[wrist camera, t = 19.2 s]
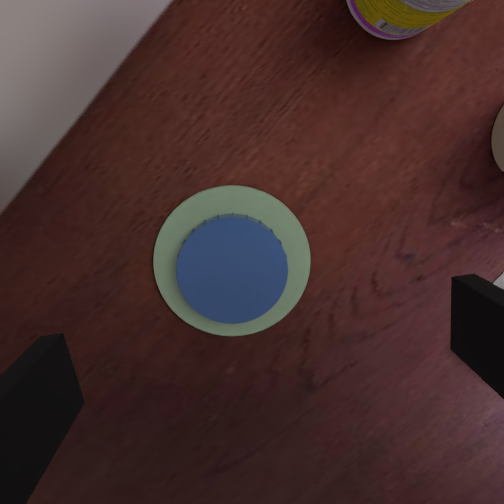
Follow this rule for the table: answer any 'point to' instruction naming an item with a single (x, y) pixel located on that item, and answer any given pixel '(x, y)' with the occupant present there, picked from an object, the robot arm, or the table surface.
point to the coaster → (226, 203)
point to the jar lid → (232, 268)
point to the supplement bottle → (400, 15)
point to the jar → (498, 139)
